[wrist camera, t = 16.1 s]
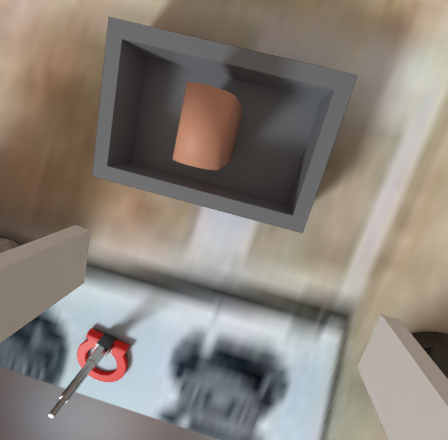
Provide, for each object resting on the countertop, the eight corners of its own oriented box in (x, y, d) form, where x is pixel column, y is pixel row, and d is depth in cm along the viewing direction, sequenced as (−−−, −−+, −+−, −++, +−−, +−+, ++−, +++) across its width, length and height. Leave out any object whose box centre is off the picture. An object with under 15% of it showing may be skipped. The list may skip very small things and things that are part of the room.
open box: (336, 90, 31) (357, 75, 24) (294, 216, 35) (302, 233, 28) (140, 43, 32) (108, 16, 25) (123, 170, 36) (92, 176, 30)
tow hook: (122, 383, 47) (136, 344, 44) (71, 472, 35) (85, 426, 32) (77, 363, 47) (87, 323, 44) (10, 444, 35) (18, 396, 32)
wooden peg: (243, 110, 32) (233, 91, 20) (230, 162, 33) (214, 172, 22) (209, 101, 32) (180, 78, 20) (198, 153, 34) (166, 159, 22)
